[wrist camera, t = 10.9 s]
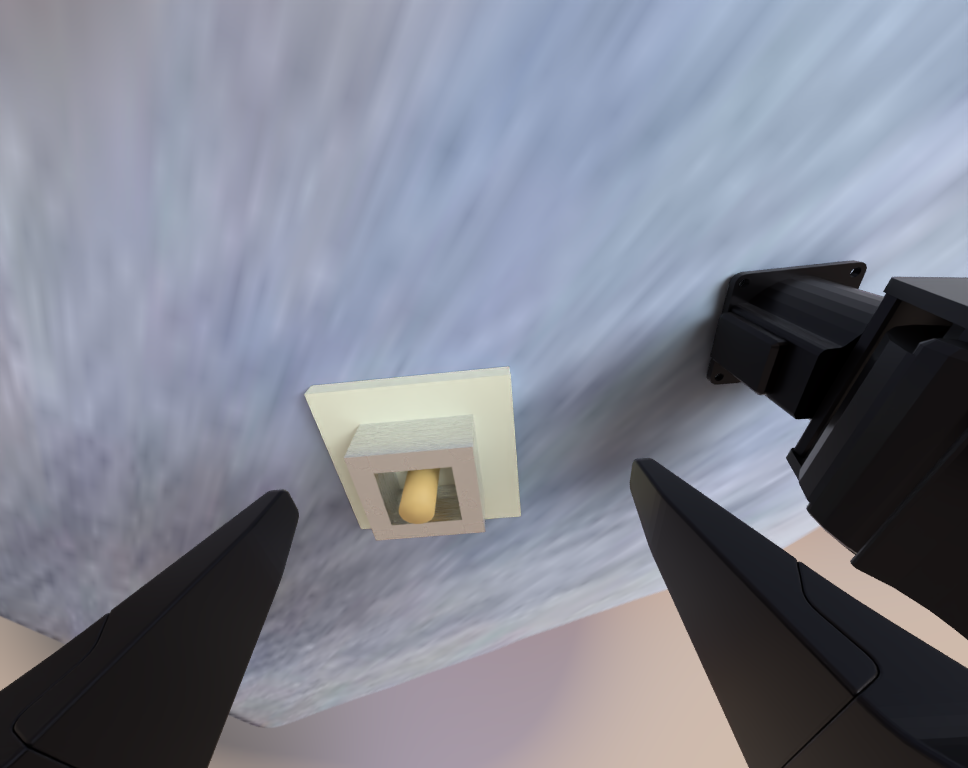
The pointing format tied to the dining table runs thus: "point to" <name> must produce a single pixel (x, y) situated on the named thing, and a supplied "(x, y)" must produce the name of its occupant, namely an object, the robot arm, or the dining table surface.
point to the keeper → (421, 399)
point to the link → (415, 449)
